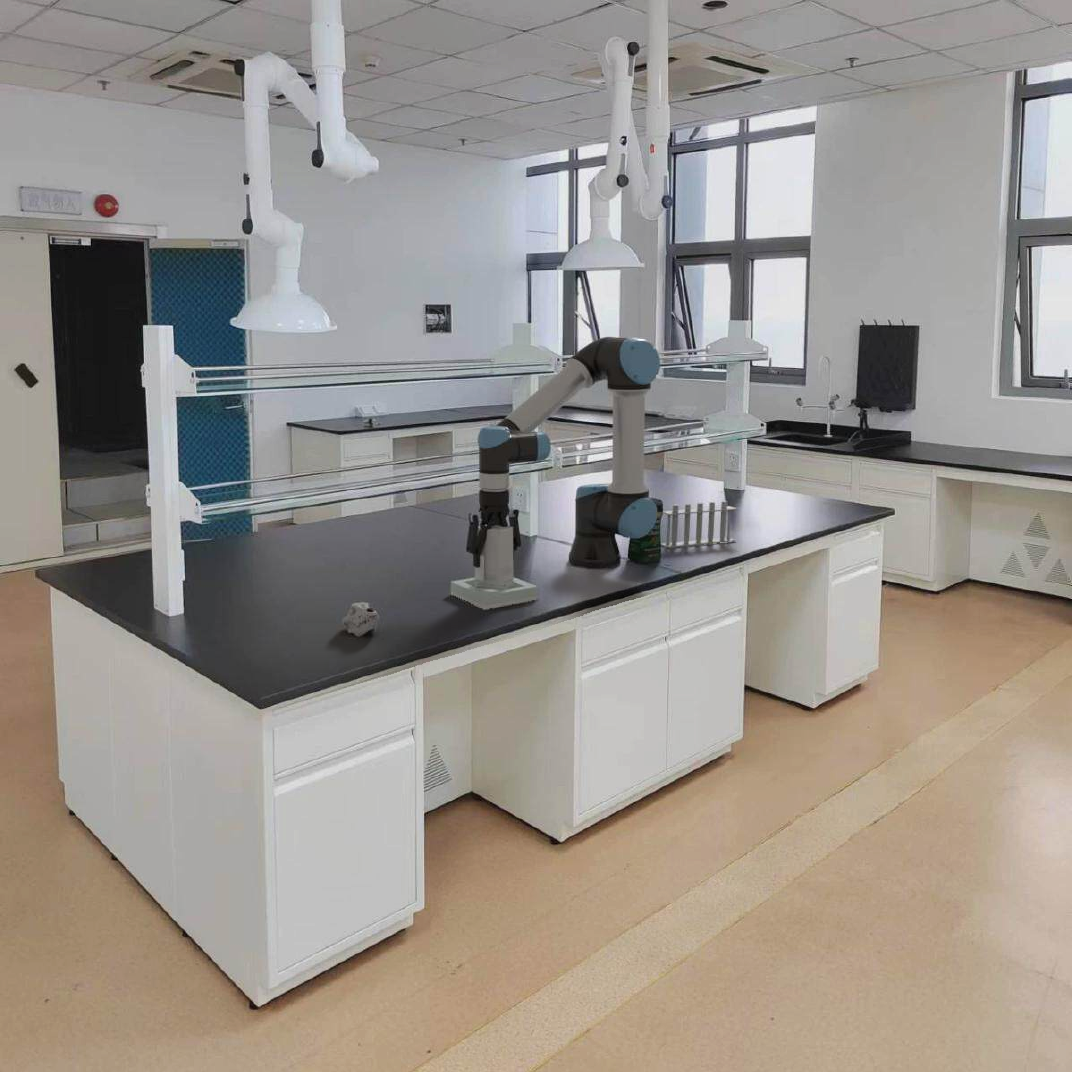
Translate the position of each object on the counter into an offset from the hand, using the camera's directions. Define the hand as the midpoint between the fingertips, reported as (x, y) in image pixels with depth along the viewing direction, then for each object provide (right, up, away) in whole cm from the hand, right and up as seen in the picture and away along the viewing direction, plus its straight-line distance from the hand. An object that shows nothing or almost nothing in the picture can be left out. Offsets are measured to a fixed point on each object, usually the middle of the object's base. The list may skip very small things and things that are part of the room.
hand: (493, 576), depth 263 cm
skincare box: (0, -3, 0) cm, 3 cm away
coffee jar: (+43, +3, +40) cm, 59 cm away
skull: (-29, -12, -28) cm, 42 cm away
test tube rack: (+62, +8, +62) cm, 88 cm away
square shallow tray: (0, -5, +1) cm, 5 cm away
